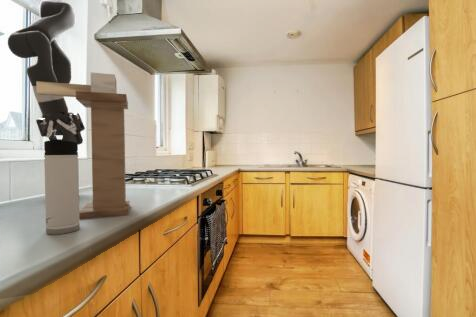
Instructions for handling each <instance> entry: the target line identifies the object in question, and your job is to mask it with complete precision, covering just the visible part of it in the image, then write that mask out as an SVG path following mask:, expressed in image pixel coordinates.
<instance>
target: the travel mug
mask: <svg viewBox="0 0 476 317" xmlns="http://www.w3.org/2000/svg"><path fill="white" fill-rule="evenodd" d="M43 144H44V145H43V147H44V150H43V151H44V157H43V158H44V161H43V163H44V199H45V200H44V202H45V203H44V204H45V225H46V226H45V232H46V233H47V234H49V235H52V236H53V235H55V236H56V235H64V234H69V233H74V232H76V231H78V230H79V229H80V228H81V226H80V221H81V219H79V212H80V187H79V186H80V185H79V184H80V180H79V179H80V178H79V177H80V176H79V174H80V173H79V152H78V151H79V150H78V149H79V148H78V147H79V145H78V143H76V142H71V141H62V138H61V139H60V138H57V139H51V141H50V140H46V141H44V142H43Z"/></svg>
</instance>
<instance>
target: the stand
mask: <svg viewBox="0 0 476 317" xmlns="http://www.w3.org/2000/svg"><path fill="white" fill-rule="evenodd" d="M75 100H76V101H77V102H79V103H80V104H81V105H82V106H83V107H85V108H89V109H90V121H91V122H90V123H91V125H90V126H91V127H90V128H91V134H90V135H91V172H92V173H91V174H92V176H91V178H92V179H91V180H92V202H90V203H86V204H85V205H84V206H83V207H82V208H81V210H79V219H80V220H82V219H83V220H84V219H94V218H97V219H98V218H106V217H107V218H108V217H120V216H129V212H130V206H131V205H130V202H131V201H130V200H126V198H127V196H126V190H127V189H126V144H125V143H126V136H125V133H126V132H125V129H126V128H125V110H129V102H128V97H127V94H126V93H117V94H115V93H99V92H82V91H76V97H75Z"/></svg>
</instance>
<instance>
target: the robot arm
mask: <svg viewBox="0 0 476 317" xmlns="http://www.w3.org/2000/svg"><path fill="white" fill-rule="evenodd" d="M75 25H76V12H75V9H74V8H73V6H72V5H71V4H70V3H68V2H65V1H56V0H55V1H54V0H41V1H40V3H39V18H37V19H35V20H34V21H33V22H31V23H30V24H29V25H28V26H27V27H24V28H22V29H19V30H16V31H14V32H12V33H11V34H10V35H9V37H8V39H7V46H8V49H9V51H10V52H11V53H12V54H13V55H14V56H16V57H18V58H20V59H29V58H37V61H36V63H35V64H33V65H30V66H28V67H27V68H26V74H27V76H28V79H29V81H30V83H31V84H30V85H31V87H32V91H33V94H34V98H35V99H36V102H37V104H38V106H39V109H40V112H41V114H42V115H41V118H37V119H36V120H35V122H36V124H37V128H38V131H39V134H40V136H41V137H43V138H44V137H46V138H48V141H51V139H58V138H57V136H62V138H61V139H62V141H71V142H76V143H78V146H79V145H82V144H83V142H84V140H83V137H82V133H81V132H83V131H85V129H86V128H85V125H84V122H83V120H82V117H81V115H80V114H79V113H78V112H75V113H74V112H72V111H69V107H68V105H67V103H66V100H65V96H47V95H39V94H38V93H37V88H36V81H38V82H52V83H67V84H71V81H72V63H71V60H70V58H69V57H68V55H67V54H66V52H65V51H64V50H63V48H62V47H61V45H60V43H59V41H58V40H57V37H58V36H59V35H61V34H63V33H64V32H65V33H66V31H68V30H71V29H73V28H74V27H75Z"/></svg>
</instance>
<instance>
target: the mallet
mask: <svg viewBox="0 0 476 317" xmlns="http://www.w3.org/2000/svg"><path fill="white" fill-rule="evenodd" d="M117 83H118V82H117V77H116V74H114V73H103V72H102V73H100V72H92V71H91V72H90V84H79V83H69V84H67V83H52V82H38V81H36V88H37V93H38V94H39V95H47V96H64V98H65V97H70V98H76V91H82V92H99V93H115V94H118V93H117V92H118V90H117V89H118V88H117Z"/></svg>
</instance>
